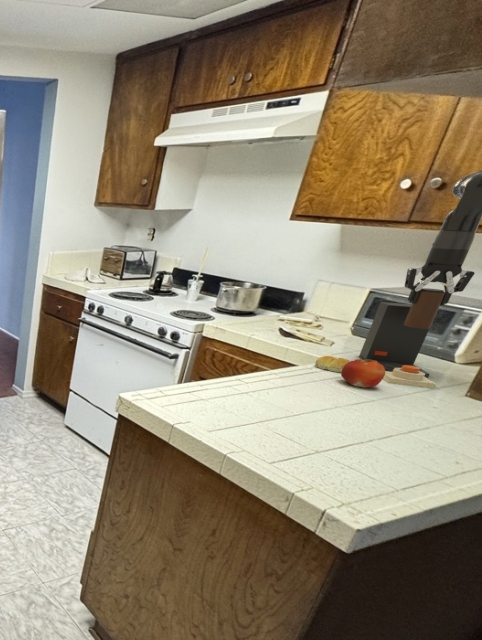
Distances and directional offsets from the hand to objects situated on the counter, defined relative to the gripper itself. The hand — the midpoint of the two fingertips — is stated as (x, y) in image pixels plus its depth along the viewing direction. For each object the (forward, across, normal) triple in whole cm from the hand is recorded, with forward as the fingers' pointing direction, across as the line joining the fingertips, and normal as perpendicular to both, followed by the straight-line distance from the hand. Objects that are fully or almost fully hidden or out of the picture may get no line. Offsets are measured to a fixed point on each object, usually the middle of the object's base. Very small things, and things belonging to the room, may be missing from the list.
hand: (426, 304), depth 143 cm
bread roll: (+22, -18, -7) cm, 30 cm away
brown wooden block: (+7, 0, 0) cm, 7 cm away
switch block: (+22, -2, -12) cm, 25 cm away
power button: (+19, -2, -12) cm, 23 cm away
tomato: (+22, -16, -23) cm, 36 cm away
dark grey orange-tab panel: (+22, 0, +4) cm, 22 cm away
